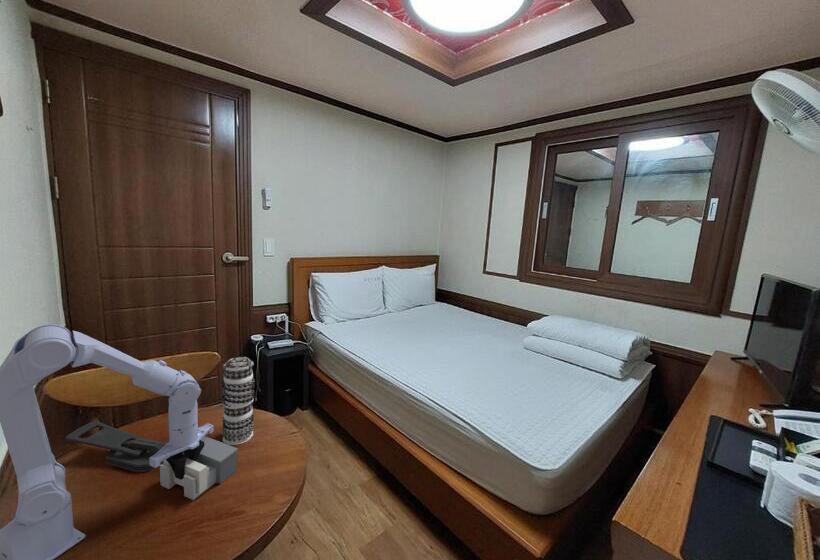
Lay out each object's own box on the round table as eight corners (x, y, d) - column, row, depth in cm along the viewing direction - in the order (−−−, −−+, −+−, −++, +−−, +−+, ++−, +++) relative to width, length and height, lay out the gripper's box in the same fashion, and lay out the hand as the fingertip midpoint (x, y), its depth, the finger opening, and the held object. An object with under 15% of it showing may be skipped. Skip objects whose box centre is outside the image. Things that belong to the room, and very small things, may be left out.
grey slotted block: (198, 502, 77) (198, 477, 76) (155, 483, 82) (154, 459, 81) (237, 470, 88) (237, 448, 87) (197, 454, 92) (197, 433, 91)
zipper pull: (95, 418, 94) (177, 430, 92) (96, 439, 95) (177, 451, 93) (59, 437, 85) (149, 451, 83) (61, 460, 86) (150, 474, 84)
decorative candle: (213, 443, 97) (213, 364, 93) (234, 425, 106) (234, 352, 103) (242, 448, 96) (243, 368, 92) (260, 429, 105) (261, 356, 102)
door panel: (207, 487, 80) (207, 466, 79) (199, 493, 78) (199, 471, 77) (172, 472, 84) (171, 451, 83) (164, 478, 82) (163, 456, 81)
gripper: (164, 446, 71) (166, 501, 73) (222, 412, 84) (222, 460, 86) (141, 437, 73) (144, 491, 75) (201, 405, 86) (202, 452, 89)
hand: (184, 473), depth 81 cm, fingers closed on door panel, 2 cm apart
